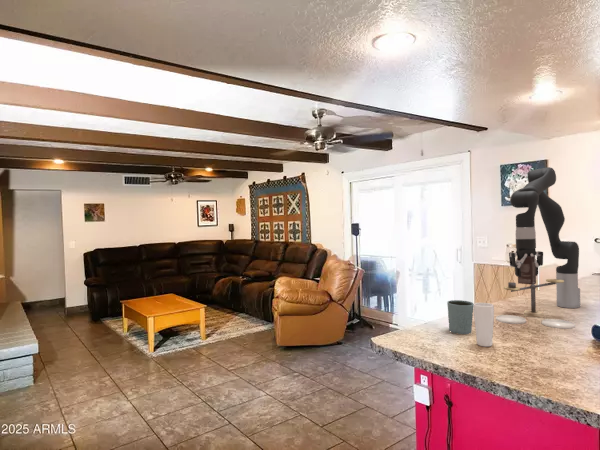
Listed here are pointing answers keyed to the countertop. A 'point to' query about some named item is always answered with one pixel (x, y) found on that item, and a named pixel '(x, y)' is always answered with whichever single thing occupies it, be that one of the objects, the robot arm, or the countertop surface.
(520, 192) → the robot arm
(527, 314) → the balance
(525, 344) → the countertop surface
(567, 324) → the dish high side
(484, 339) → the drinking glass
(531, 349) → the countertop surface
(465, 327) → the green cup
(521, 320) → the dish low side
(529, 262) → the box
